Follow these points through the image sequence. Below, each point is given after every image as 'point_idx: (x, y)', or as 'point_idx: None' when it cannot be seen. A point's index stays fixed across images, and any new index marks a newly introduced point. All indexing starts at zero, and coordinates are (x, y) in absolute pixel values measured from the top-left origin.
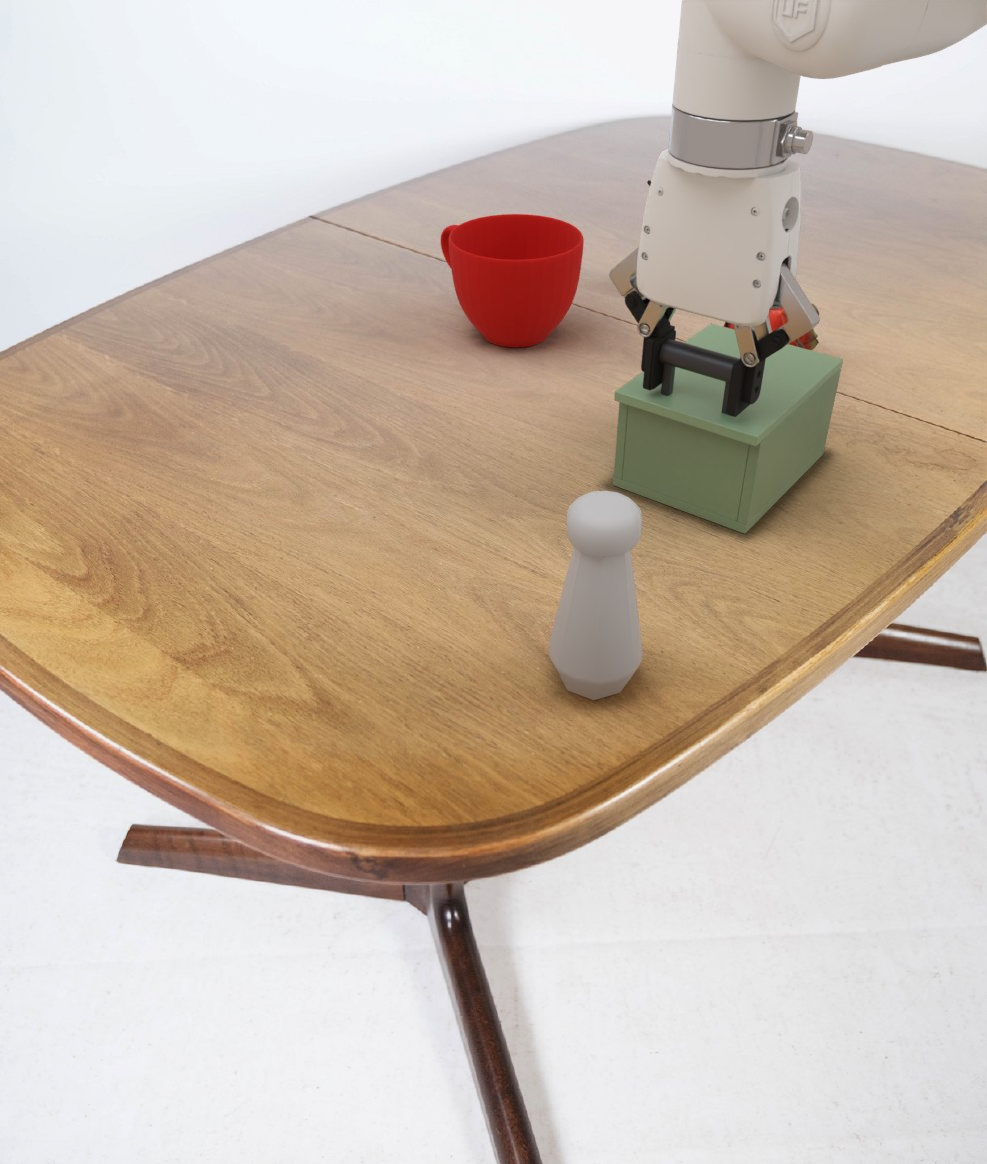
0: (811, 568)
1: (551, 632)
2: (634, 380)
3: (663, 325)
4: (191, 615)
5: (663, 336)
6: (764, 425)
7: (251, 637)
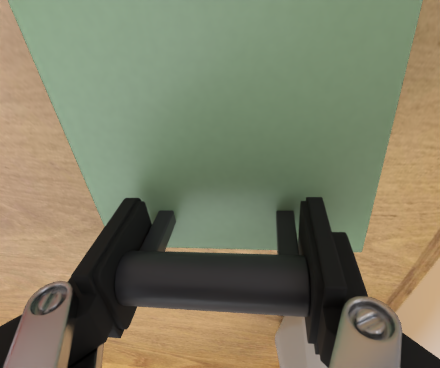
0: (417, 157)
1: (277, 353)
2: (101, 207)
3: (92, 330)
4: (112, 352)
5: (110, 309)
6: (361, 221)
7: (144, 352)
